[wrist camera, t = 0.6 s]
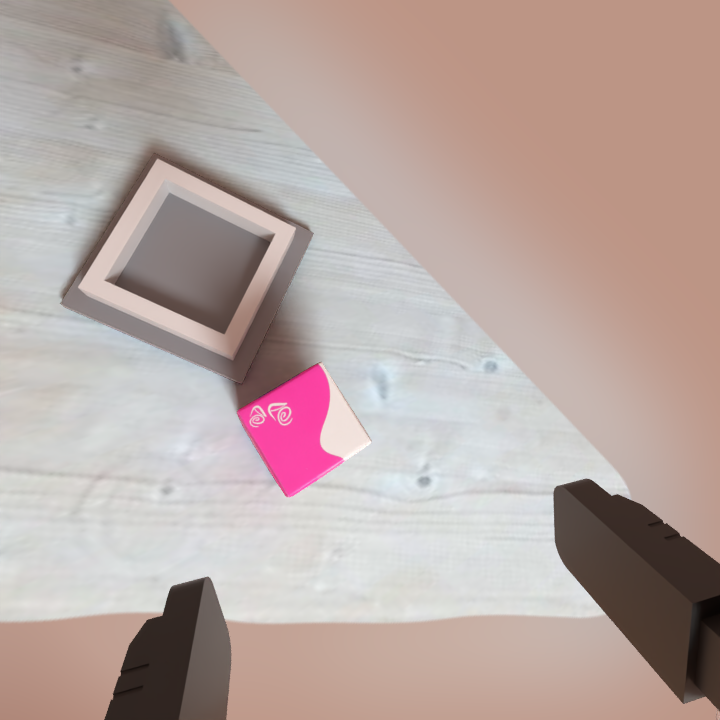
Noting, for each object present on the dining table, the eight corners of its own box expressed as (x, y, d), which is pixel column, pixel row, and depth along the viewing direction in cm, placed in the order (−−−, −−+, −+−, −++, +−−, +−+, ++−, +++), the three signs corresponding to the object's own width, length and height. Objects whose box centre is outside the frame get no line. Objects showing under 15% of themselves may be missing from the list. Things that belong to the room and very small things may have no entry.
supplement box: (301, 382, 37) (325, 358, 27) (339, 444, 37) (378, 446, 26) (237, 420, 36) (234, 410, 25) (276, 485, 36) (291, 505, 25)
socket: (65, 307, 34) (49, 295, 31) (156, 160, 38) (149, 136, 35) (241, 384, 36) (241, 379, 33) (312, 237, 40) (317, 222, 37)
